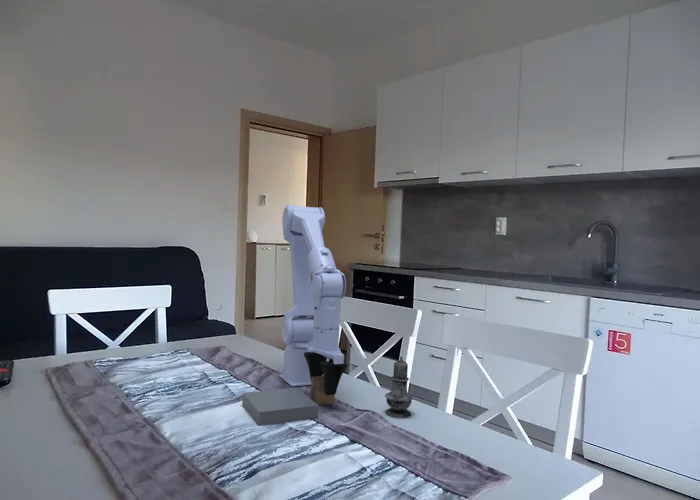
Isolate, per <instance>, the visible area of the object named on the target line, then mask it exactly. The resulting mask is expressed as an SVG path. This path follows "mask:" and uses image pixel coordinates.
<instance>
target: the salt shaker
mask: <svg viewBox="0 0 700 500" xmlns="http://www.w3.org/2000/svg"><path fill="white" fill-rule="evenodd" d="M408 365H409V364H408V363H407V361H404V359H403V356H400V357H399V360H397V361H395V362H394V363H393V376H391V379H392V387H391V391H390V392H387V393H385V395H384V397H385V398H386V404H387V405H388V407H389V408H388V409H386V410H385V414H386V415H387V416H389V417H391V418H396V419H406V418H410V417H411V416H412V413H411V411H410V410H408V409H409V408H410V406H411V404H412V401H413V400H414V397H413V395H412V394H410V393H408V381H409V380H410V379H409V377H408V368H409V366H408Z"/></svg>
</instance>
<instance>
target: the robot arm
mask: <svg viewBox="0 0 700 500" xmlns="http://www.w3.org/2000/svg"><path fill="white" fill-rule="evenodd" d="M281 222H282V235H283V240H285V241H286V242H287V243H288V244H289V250H290V259H291V261H290V263H291V279H292V280H291V281H292V282H291V283H292V284H291V285H292V297H293V299H292V300H293V301H292V302H293V306H292V307H291V308H290V309H288V310H287V311H286V312H285V313H284V315H283V317H282V329H281V331H282V332H281V333H282V334H281V335H282V340H283V342H284V343H285V344H286V345H287V346H286V347H285V348H284V351H283V352H284V353H283V367H282V368H283V371H282V373H281V374H280V373H279V377H280V378H282V380H283V381H285V382H286V383H287V384H289V385H290V386H291V387H302V386H311V380H312V377H316V376H324V387H325V394H326V395H334V394H335V395H336V394H337V390H338V387H339V383H340V380H341V379H342V376H343V373H344V372H345V370H346V368H347V367H348V363H347V362H345V361H344V360H345V354H343V353H342V351H341V349H340V347H339V340H340V339H339V338H340V324H341V323H340V322H341V302H342V301H341V299H343V298H344V297H345V295H346V290H347V280H346V276H345V274H344V273H343V272H341V270H340V269H337V267H336V266H337V265H336V264H335V263H336V262H335V261H334V257H333V254H332V252H331V249H329V248H328V247H325V246H326V245H325V241H324V236H323V228H324V226H325V222H326V214H325V210H324V209H323V208H322V207H319V206H318V207H313V206H311V207H310V206H303V205H302V206H301V205H291V204H287V205H286V206H285V207H284V209H283V214H282V220H281ZM327 359H328V360H327Z"/></svg>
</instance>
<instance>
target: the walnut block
mask: <svg viewBox="0 0 700 500" xmlns="http://www.w3.org/2000/svg"><path fill="white" fill-rule="evenodd" d="M310 399H311V400H313V401H314V402H315V403H316V404H317V405H318V406H323V405H328V404H330V405H331V404H335V403H336V401H335V400H336V394H334V395H326V394H325V387H324V375H323V376H316V377H312V380H311V385H310Z"/></svg>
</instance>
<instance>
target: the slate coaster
mask: <svg viewBox="0 0 700 500" xmlns="http://www.w3.org/2000/svg"><path fill="white" fill-rule="evenodd" d="M241 402H242V404H241V405H242V406H243V408H244V409H245V410H246V411H247V413H248V414H249V415H250V417H252V419H253V420H254V421H255V422H256V424H257V425H258V426H266V425H273V424H283V423H288V422H297V421H305V420H311V419H318V417H319V405H317V404H316V403H315V402H314V401H313V400H311V397H309V396H308V395H307V394H305V393H304V392H303V391H302V390H300V388H298V387H289V388H279V389H269V390H259V391H250V392H249V391H248V392H242V401H241Z"/></svg>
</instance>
